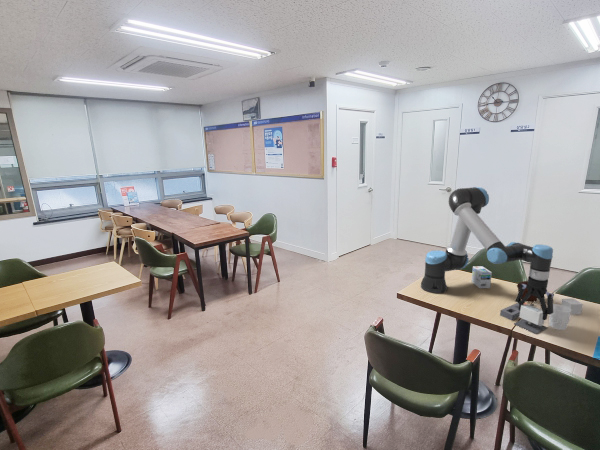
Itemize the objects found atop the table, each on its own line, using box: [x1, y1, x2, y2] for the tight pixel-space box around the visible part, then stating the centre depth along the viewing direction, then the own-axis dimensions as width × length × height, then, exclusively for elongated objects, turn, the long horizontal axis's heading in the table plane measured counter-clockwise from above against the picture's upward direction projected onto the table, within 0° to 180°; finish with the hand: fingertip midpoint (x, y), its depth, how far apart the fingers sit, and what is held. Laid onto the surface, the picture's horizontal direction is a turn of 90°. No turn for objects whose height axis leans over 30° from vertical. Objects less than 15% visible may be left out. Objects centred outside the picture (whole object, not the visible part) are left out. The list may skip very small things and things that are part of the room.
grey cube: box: [560, 298, 584, 316], centre depth 167 cm, size 6×6×6 cm
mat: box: [513, 318, 548, 335], centre depth 155 cm, size 10×10×1 cm
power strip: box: [499, 302, 535, 321], centre depth 169 cm, size 6×26×4 cm, turn 118°
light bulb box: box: [470, 265, 493, 289], centre depth 201 cm, size 11×7×11 cm, turn 179°
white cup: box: [548, 303, 572, 331], centre depth 154 cm, size 8×8×10 cm
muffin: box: [516, 280, 538, 303], centre depth 182 cm, size 12×11×10 cm
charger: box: [519, 303, 543, 325], centre depth 154 cm, size 8×5×8 cm, turn 28°
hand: (531, 320), depth 155 cm, fingers closed on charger, 8 cm apart
